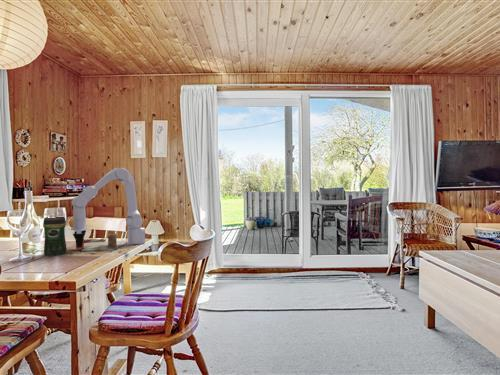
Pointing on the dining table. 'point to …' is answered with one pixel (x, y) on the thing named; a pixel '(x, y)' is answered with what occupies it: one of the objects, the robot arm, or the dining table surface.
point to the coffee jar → (54, 236)
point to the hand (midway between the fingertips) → (79, 245)
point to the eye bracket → (111, 245)
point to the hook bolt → (90, 242)
